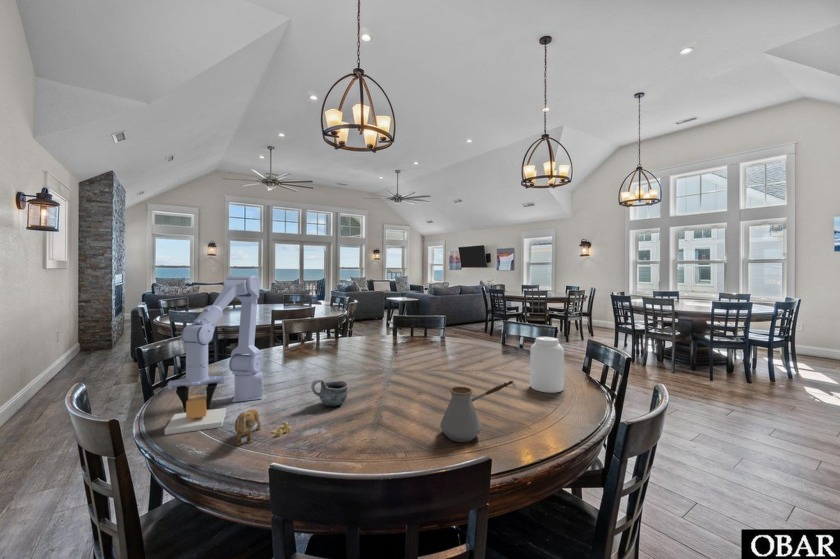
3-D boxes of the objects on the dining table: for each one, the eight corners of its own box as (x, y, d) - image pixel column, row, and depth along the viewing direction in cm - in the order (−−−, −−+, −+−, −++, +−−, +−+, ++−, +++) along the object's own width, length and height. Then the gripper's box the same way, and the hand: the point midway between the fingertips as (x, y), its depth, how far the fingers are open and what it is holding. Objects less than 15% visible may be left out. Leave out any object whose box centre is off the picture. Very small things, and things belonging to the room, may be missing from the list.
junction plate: (226, 412, 118) (226, 397, 118) (221, 427, 107) (221, 410, 107) (174, 418, 113) (174, 402, 113) (164, 434, 102) (164, 417, 102)
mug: (353, 404, 126) (353, 375, 126) (321, 414, 117) (321, 383, 117) (337, 397, 133) (337, 370, 133) (306, 407, 124) (306, 377, 123)
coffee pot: (444, 446, 96) (444, 389, 96) (436, 428, 107) (437, 377, 107) (522, 442, 99) (523, 386, 98) (507, 424, 110) (507, 374, 110)
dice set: (286, 428, 108) (286, 422, 108) (294, 433, 104) (294, 427, 104) (269, 433, 104) (269, 427, 104) (277, 439, 101) (277, 432, 101)
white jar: (570, 389, 143) (570, 338, 143) (550, 395, 136) (550, 341, 136) (543, 381, 154) (543, 334, 153) (523, 386, 146) (523, 336, 146)
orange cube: (208, 410, 113) (208, 394, 113) (205, 416, 109) (205, 399, 109) (189, 412, 111) (189, 396, 111) (186, 418, 107) (186, 401, 107)
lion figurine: (255, 448, 94) (255, 414, 94) (232, 451, 93) (232, 416, 93) (262, 425, 108) (262, 395, 108) (242, 428, 107) (242, 397, 107)
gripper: (164, 370, 103) (165, 418, 104) (223, 365, 109) (223, 411, 109) (171, 364, 110) (171, 409, 110) (225, 360, 115) (226, 403, 116)
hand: (197, 409), depth 110 cm, fingers closed on orange cube, 5 cm apart
